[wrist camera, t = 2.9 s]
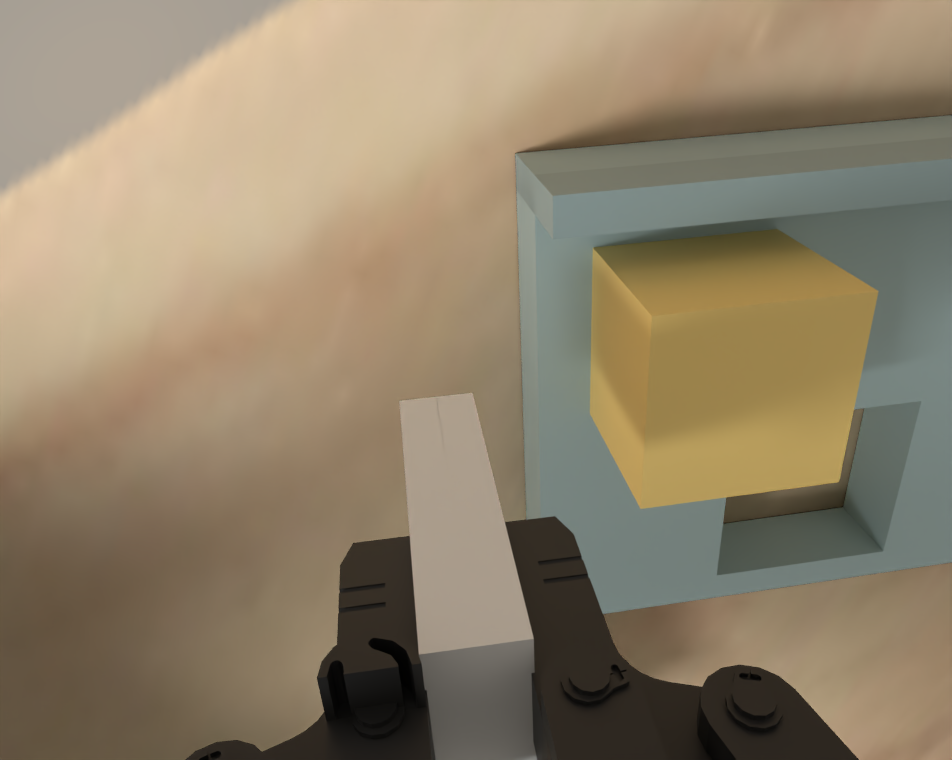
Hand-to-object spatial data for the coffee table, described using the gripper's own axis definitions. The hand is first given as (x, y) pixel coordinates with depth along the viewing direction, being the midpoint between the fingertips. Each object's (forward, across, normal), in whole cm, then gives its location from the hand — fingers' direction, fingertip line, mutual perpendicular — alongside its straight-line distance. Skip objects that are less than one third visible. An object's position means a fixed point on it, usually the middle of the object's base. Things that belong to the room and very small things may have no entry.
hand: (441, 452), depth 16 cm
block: (+5, -7, 0) cm, 9 cm away
